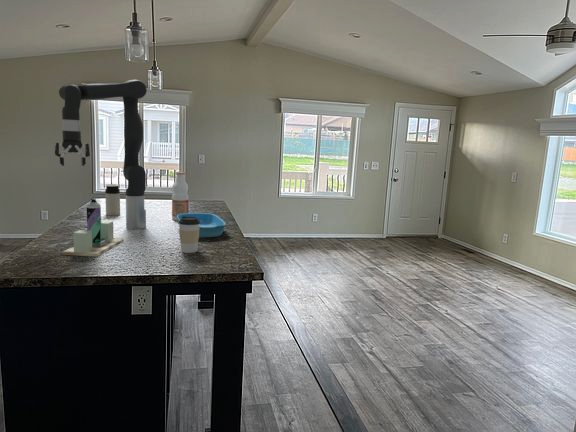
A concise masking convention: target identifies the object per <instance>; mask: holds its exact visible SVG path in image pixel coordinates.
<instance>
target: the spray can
mask: <svg viewBox="0 0 576 432" xmlns="http://www.w3.org/2000/svg"><path fill="white" fill-rule="evenodd" d="M101 209H102V207H101V203H98V201H97V200H96V198H91V200H90V202H89V203H87V204H86V230H87V231H92V242H97V243H99V242H101V241H102V238H101V221H102V213H101V212H102V211H101Z"/></svg>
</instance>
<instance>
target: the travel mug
mask: <svg viewBox="0 0 576 432" xmlns="http://www.w3.org/2000/svg"><path fill="white" fill-rule="evenodd" d="M119 187H120V184H114V183H112V184H111V183H109V184H105V188H106V189H105V190H104V191H105V215H107V216H111V217H115V216H120V215H121V190H120V189H119Z"/></svg>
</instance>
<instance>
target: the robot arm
mask: <svg viewBox="0 0 576 432" xmlns="http://www.w3.org/2000/svg"><path fill="white" fill-rule="evenodd" d="M147 90H148V89H147V86H146V84H145V83H144V82H143V81H141V80H139V79H130V80H126V81H125V82H121V83H88V84H82V85H81V84H66V85H65V84H64V85H62V86H61V87H60V88H59V90H58V95H59V97H60V98H61V99H62V100H64V106H63V107H62V108H61V109H62V110H61V116H62V117H61V118H62V122H61V123H62V124H61V131H62V132H61V133H62V142H54V155H55V156H56V157H58V158H59V164H60V165H61V166H63V167H64V166H65V158H64V157H65V155H66V154H67V153H70V154H71V153H78V155H80V156H81V159H80V160H81V166H82V167H85V165H86V162H87V161H86V158H88V157H90V155H91V154H90V144H89V143H82V133H81V132H82V131H81V122H80V108H81V103H82V100H83V101H84V100H89V101H90V100H91V101H92V100H94V101H95V100H104V99H110V98H111V99H113V98H122V101H123V139H124V142H123V143H124V145H123V147H124V148H123V149H124V158H123V159H124V161H123V170H122V172H123V177H124V179H125V180H127V188H126V189H125V227H126V229H130V230H140V229H143V228H144V229H146V228H147V216H146V215H147V211H146V209H145V191H146V188H147V186H146V185H147V173H146V170H145V168H144V167H143V166H142V165H140V159H139V158H140V150H141V148H142V144H143V142H144V125H143V121H142V118H141V116H140V115H141V114H140V112H139V106H138V105H139V100H140V99H142V98H144V97H145V96H146V95H147ZM61 147H62V148H63V150H62V151H61V152H60V149H61ZM82 147H83V148H84V151H85V154H84V152H83V151H82V149H81V148H82Z"/></svg>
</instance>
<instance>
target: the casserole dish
mask: <svg viewBox="0 0 576 432" xmlns="http://www.w3.org/2000/svg"><path fill="white" fill-rule="evenodd" d="M183 216H185V217H196V218H197V219H198V220H199V221H200V225H199V239H200V238H215V237H216V238H217V237H220V236H222V234H223V232H224V231H225V227H226V225H227V224H226V222H225V220H224V219H222V218H220V216H219V215H216V214H213V213H207V212H206V213H205V212H188V213H184V214H178V215H177V219H178V221H177V222H178V223H179V220H181V218H182V217H183Z"/></svg>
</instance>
